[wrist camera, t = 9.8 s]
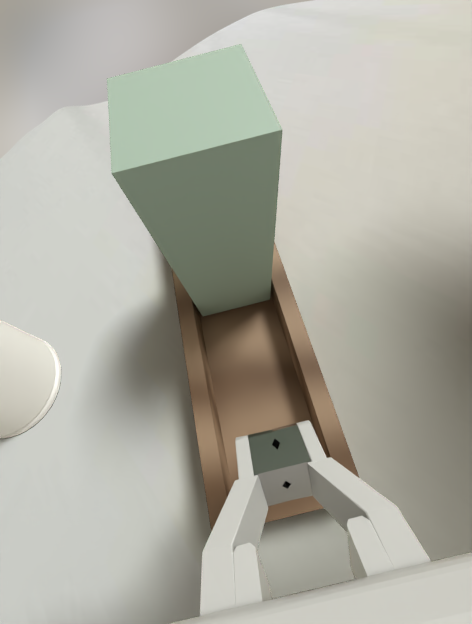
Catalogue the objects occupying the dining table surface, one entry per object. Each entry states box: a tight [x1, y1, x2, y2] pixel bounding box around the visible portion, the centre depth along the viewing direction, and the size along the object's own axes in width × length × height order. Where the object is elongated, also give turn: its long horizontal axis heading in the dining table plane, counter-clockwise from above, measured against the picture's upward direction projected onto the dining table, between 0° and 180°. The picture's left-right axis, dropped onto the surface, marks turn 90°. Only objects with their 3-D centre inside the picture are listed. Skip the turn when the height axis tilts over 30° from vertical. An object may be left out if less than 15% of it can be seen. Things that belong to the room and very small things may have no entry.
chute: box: [171, 242, 359, 532], centre depth 21 cm, size 28×9×4 cm, turn 13°
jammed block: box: [107, 44, 282, 316], centre depth 16 cm, size 6×6×14 cm
